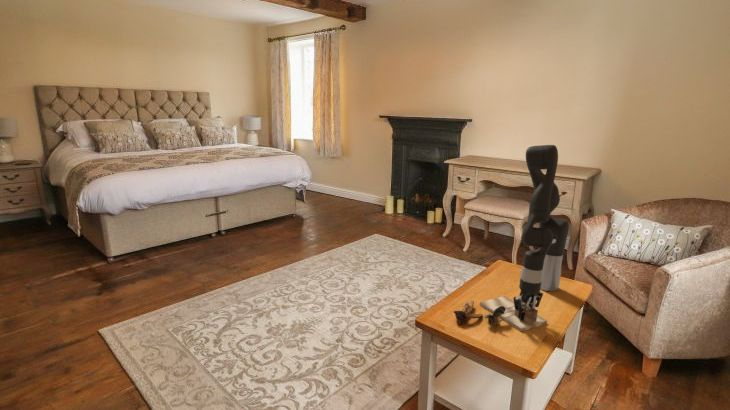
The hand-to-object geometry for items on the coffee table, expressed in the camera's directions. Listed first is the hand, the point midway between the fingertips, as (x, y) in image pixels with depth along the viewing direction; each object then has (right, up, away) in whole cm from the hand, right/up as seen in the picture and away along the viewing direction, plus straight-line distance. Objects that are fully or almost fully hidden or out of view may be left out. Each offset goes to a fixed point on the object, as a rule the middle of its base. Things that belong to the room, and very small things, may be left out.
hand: (525, 318), depth 154 cm
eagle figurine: (-12, -2, -1) cm, 12 cm away
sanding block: (0, 0, 0) cm, 0 cm away
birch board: (-3, 0, +6) cm, 7 cm away
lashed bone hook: (-21, -1, +3) cm, 21 cm away
